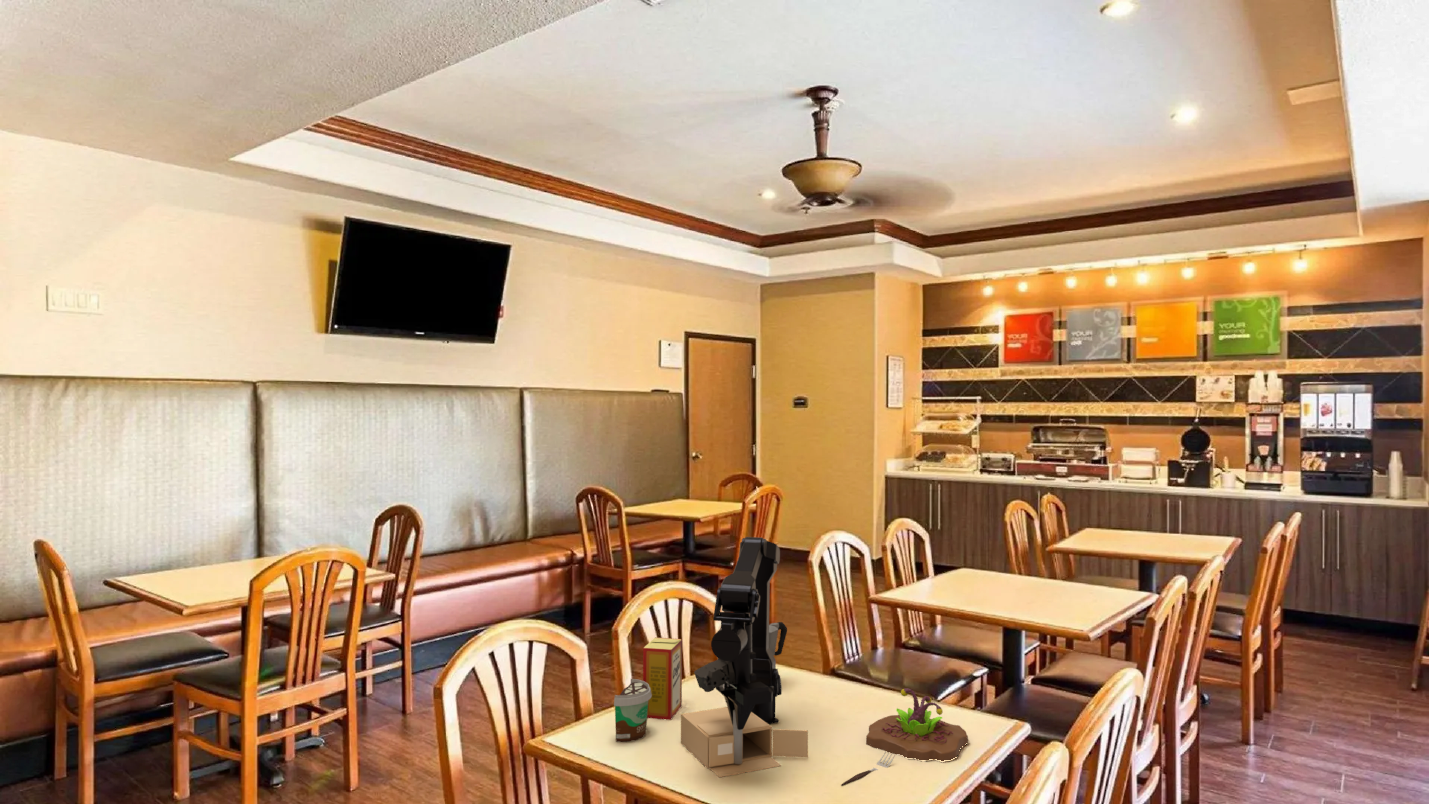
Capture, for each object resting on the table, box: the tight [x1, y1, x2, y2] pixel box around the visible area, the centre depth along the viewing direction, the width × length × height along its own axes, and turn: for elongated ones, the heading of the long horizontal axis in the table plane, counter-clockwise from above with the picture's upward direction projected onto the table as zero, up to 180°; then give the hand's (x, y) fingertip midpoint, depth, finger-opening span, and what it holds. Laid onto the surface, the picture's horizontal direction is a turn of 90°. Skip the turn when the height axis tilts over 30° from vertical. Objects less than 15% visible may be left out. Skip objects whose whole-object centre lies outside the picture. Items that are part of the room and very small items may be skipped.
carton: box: [680, 706, 809, 778], centre depth 171 cm, size 20×19×6 cm
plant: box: [865, 687, 969, 761], centre depth 177 cm, size 20×20×11 cm
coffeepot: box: [769, 621, 788, 687], centre depth 211 cm, size 15×9×18 cm, turn 125°
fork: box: [840, 751, 896, 787], centre depth 161 cm, size 3×16×2 cm, turn 135°
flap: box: [709, 710, 743, 767], centre depth 163 cm, size 7×2×10 cm, turn 110°
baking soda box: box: [642, 636, 683, 721], centre depth 194 cm, size 10×6×16 cm
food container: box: [613, 678, 652, 743], centre depth 180 cm, size 12×6×10 cm, turn 168°
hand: (737, 727), depth 164 cm, fingers closed
